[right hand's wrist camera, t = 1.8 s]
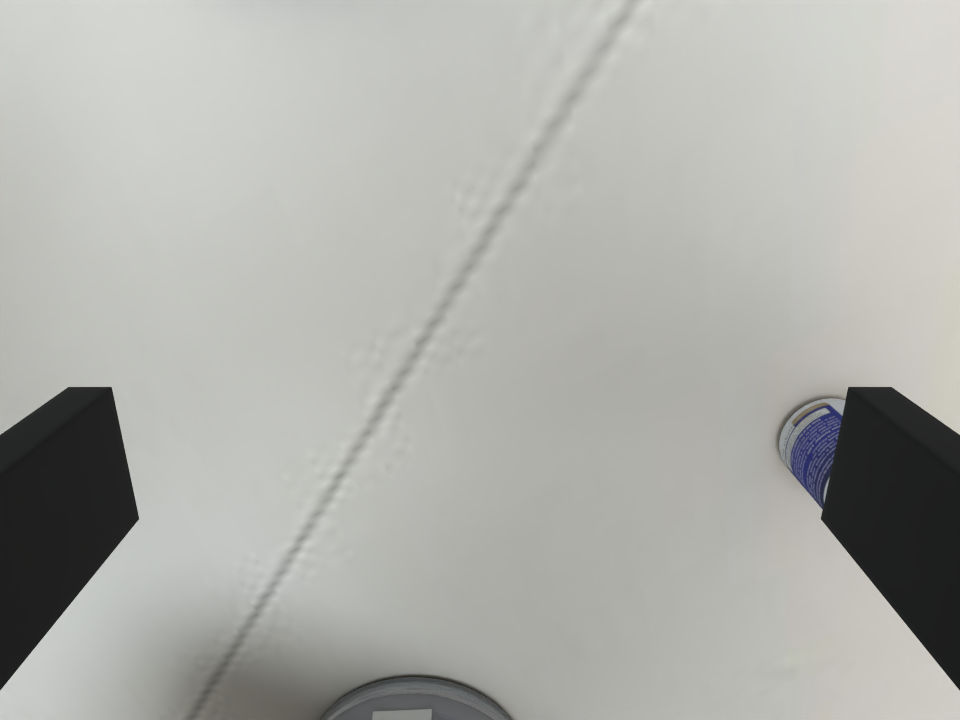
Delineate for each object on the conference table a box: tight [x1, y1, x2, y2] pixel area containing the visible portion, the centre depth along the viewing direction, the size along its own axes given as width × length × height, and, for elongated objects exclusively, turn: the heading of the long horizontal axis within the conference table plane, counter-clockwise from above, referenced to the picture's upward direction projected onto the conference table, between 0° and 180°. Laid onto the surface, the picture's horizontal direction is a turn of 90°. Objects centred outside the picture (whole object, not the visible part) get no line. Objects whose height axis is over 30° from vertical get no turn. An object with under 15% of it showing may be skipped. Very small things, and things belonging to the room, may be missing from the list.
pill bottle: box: [779, 398, 846, 509], centre depth 36 cm, size 5×5×9 cm
